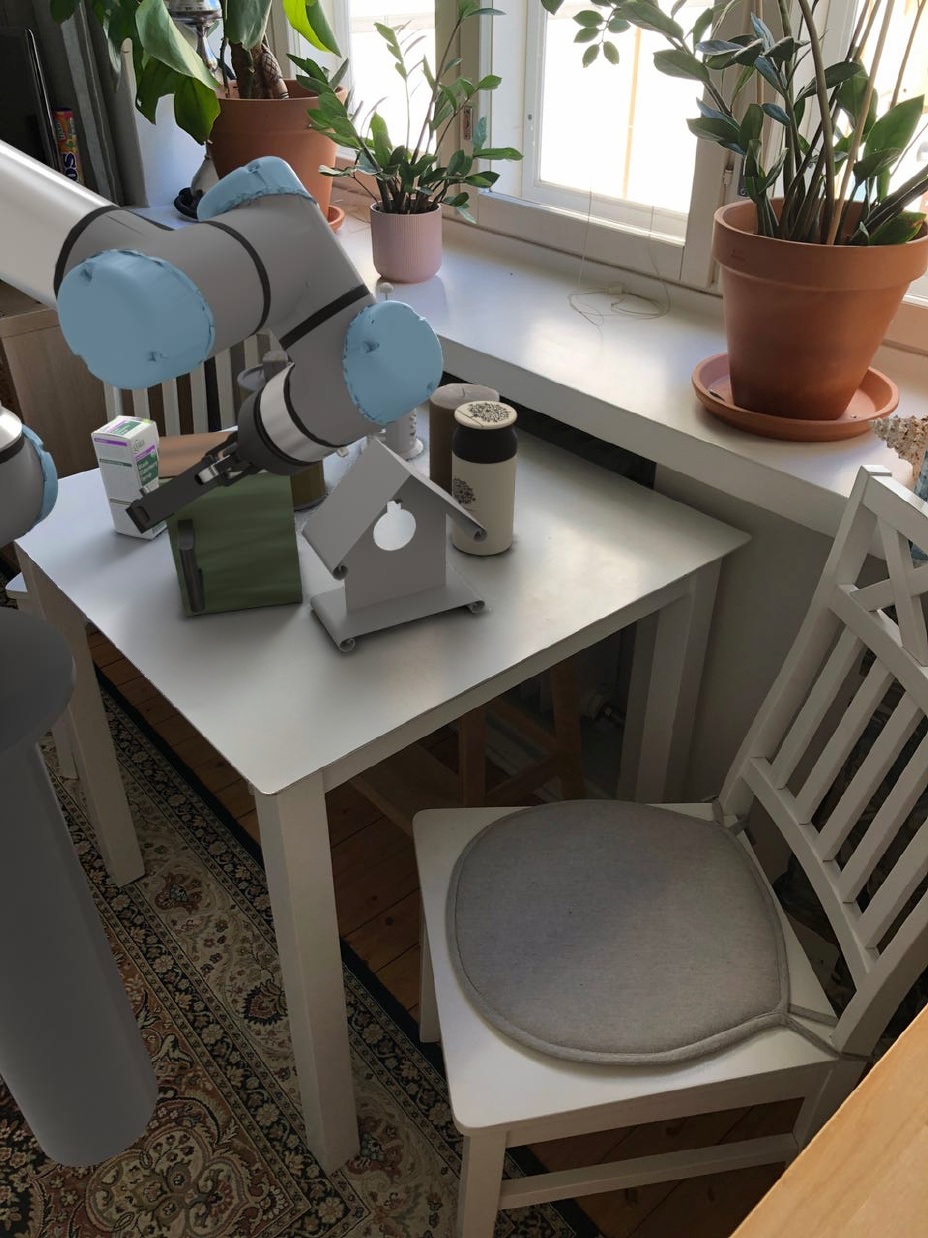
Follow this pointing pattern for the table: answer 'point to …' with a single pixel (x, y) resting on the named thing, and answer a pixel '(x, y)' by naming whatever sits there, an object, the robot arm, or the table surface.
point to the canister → (309, 482)
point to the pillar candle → (449, 426)
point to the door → (237, 546)
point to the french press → (398, 425)
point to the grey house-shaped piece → (386, 578)
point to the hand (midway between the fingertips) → (191, 488)
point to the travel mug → (485, 473)
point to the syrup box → (128, 467)
